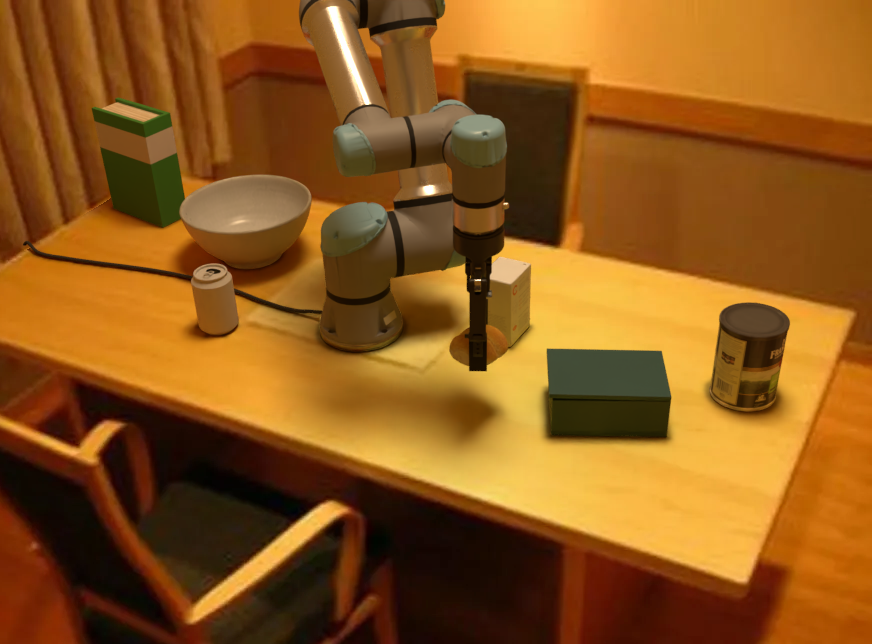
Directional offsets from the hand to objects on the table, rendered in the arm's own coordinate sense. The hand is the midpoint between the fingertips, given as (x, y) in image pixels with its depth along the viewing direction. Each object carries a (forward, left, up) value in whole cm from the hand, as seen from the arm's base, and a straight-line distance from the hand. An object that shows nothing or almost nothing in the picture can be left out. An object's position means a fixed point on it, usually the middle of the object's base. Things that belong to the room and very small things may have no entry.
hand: (478, 351), depth 169 cm
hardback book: (-76, +74, -11) cm, 106 cm away
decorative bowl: (-48, +53, -11) cm, 72 cm away
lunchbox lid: (+20, -1, -4) cm, 20 cm away
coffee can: (+42, +5, -11) cm, 44 cm away
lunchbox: (+20, -1, -11) cm, 23 cm away
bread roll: (0, 0, 0) cm, 0 cm away
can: (-49, +25, -11) cm, 56 cm away
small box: (+4, +23, -11) cm, 26 cm away
